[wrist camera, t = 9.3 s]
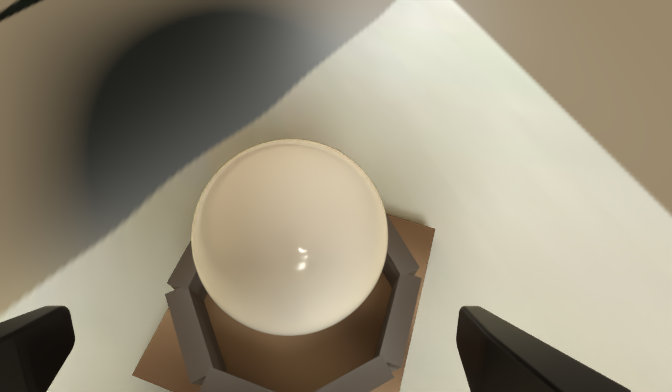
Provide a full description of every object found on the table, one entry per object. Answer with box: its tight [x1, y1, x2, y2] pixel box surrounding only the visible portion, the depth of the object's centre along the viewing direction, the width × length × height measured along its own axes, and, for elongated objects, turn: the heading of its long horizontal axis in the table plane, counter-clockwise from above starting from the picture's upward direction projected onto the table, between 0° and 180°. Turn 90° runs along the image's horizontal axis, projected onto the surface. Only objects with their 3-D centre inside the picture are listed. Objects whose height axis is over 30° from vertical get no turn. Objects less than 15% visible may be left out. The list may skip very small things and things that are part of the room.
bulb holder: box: [132, 212, 435, 392], centre depth 19 cm, size 12×12×4 cm
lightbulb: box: [191, 139, 388, 336], centre depth 15 cm, size 6×6×11 cm
